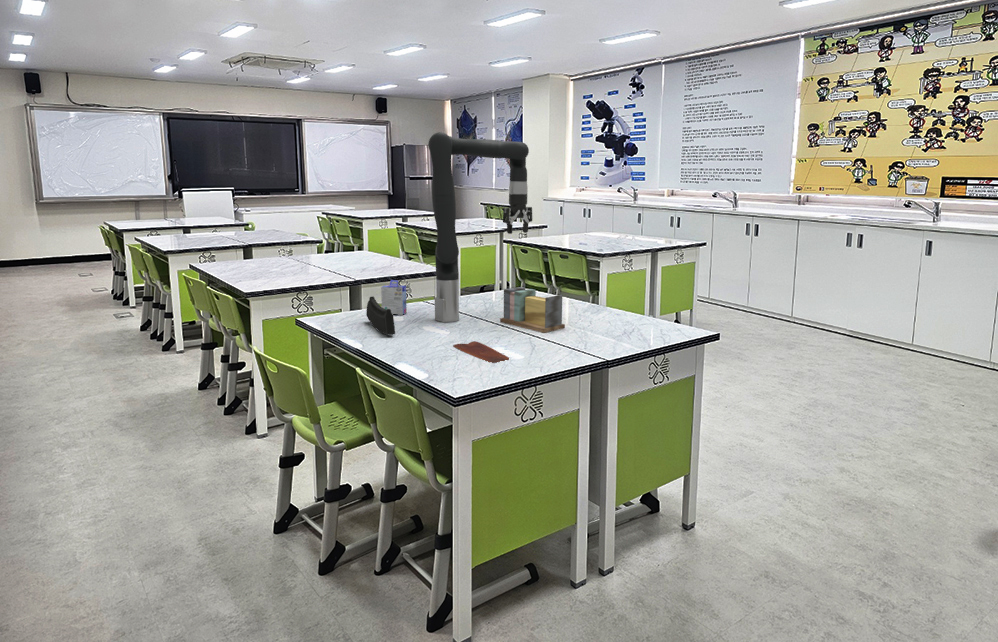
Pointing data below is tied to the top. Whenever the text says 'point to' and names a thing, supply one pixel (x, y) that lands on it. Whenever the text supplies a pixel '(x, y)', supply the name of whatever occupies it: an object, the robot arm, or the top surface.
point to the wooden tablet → (481, 352)
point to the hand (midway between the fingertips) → (517, 233)
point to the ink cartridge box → (394, 298)
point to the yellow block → (535, 310)
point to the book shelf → (516, 310)
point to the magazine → (380, 317)
